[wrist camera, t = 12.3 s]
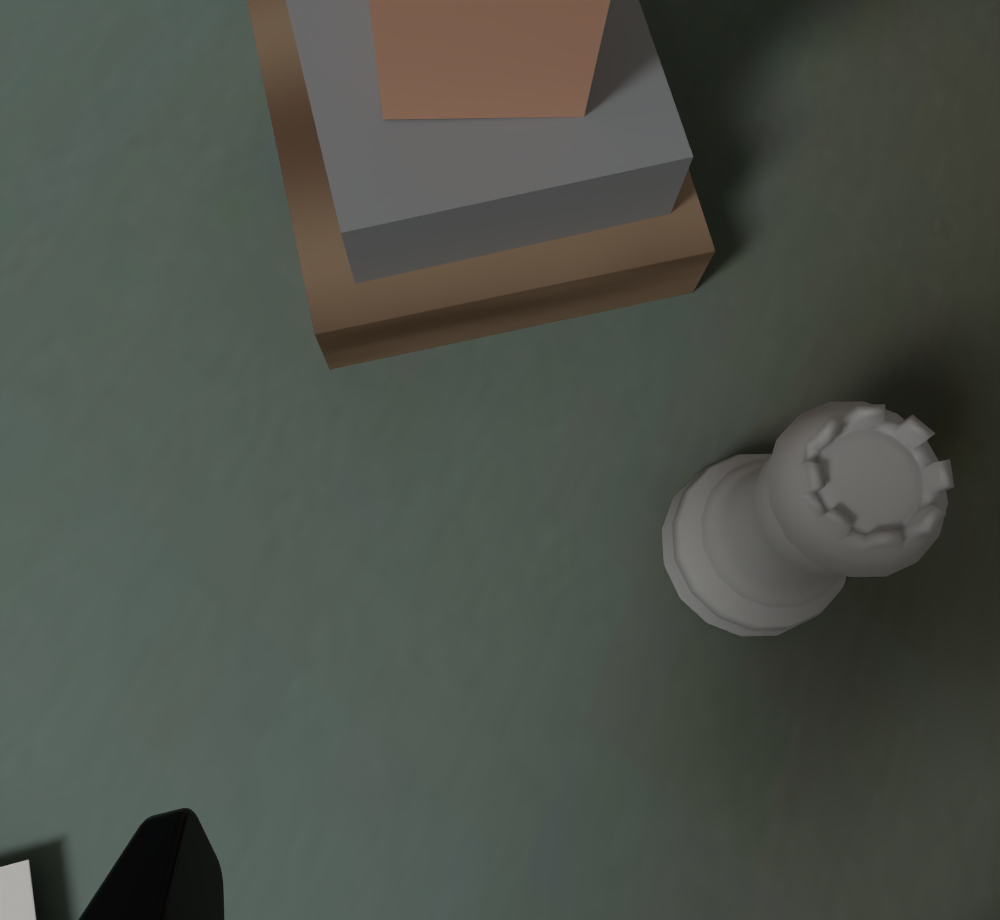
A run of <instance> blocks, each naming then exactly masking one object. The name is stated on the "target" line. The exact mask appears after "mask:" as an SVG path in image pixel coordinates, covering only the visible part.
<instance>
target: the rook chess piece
mask: <svg viewBox="0 0 1000 920" xmlns="http://www.w3.org/2000/svg"><path fill="white" fill-rule="evenodd" d="M934 434H935V433H934V432H933V431H932V430H931V429H929V428H928V427H927V426H926V425H925V424H923V423H922V422H921V421H920V420H919V419H917V418H916V417H915V416H914V415H911V416H909V417H908V418H906V419H905V420H904V419H903V418H902V417H901V416H900V415H898V414H897V413H894V412H892V411H889V410H886V409H885V404H873V405H872V404H870V403H867V402H864V401H849V402H828V403H825V404H823V405H821V406H818V407H816V408H814V409H811V410H809V411H807V412H804V413H802V414H800V415H798V416H797V417H796V419H795V420H794V421H793V422H792V423H791V424H790V425H789V426H788V427H787V428H786V430H785V431H784V432H783V433H782V434H781V435H780V436H779V437H778V438H777V440H776V443H775V446H774V449H773V452H772V454H736V455H734V456H732V457H729V458H727V459H725V460H722V461H720V462H718V463H715V464H713V465H711V466H709V467H706V468H705V469H704V470H703V471H701V472H699V473H697V474H695V475H694V476H693V477H692V478H691V479H690V480H689V481H688V483H687V484H686V485H685V486H684V487H683V488H682V489H681V490H680V491H679V492H678V493H677V494H676V495H675V497H674V498H673V499H672V502H671V505H670V508H669V511H668V514H667V517H666V519H665V522H664V525H663V528H662V541H663V556H664V566H665V568H666V570H667V572H668V574H669V576H670V578H671V581H672V583H673V585H674V587H675V589H676V591H677V593H678V595H679V597H680V598H681V599H682V600H683V601H684V602H685V603H686V604H687V605H688V606H689V607H690V608H691V609H692V610H693V611H695V612H696V613H697V614H698V615H699V616H700V617H701V618H702V619H703V620H704V621H705V622H706V623H708V624H711V625H713V626H716V627H718V628H721V629H724V630H726V631H729V632H731V633H734V634H736V635H739V636H777V635H779V634H781V633H784V632H786V631H788V630H790V629H792V628H794V627H796V626H799V625H801V624H803V623H805V622H807V621H809V620H811V619H813V618H815V617H817V616H819V615H820V614H821V613H822V612H823V611H824V610H825V608H826V607H827V606H828V605H829V604H830V603H831V601H832V600H833V599H834V598H835V597H836V595H837V594H838V593H839V592H840V591H841V590H842V588H843V586H844V584H845V580H846V577H847V576H848V577H886V576H889V575H891V574H893V573H895V572H897V571H899V570H902V569H904V568H906V567H908V566H910V565H912V564H914V563H917V562H918V561H919V560H920V559H921V557H922V556H923V555H924V554H925V553H926V551H927V550H928V549H929V548H930V547H931V545H932V544H933V543H934V542H935V541H936V539H937V538H938V537H939V535H940V532H941V528H942V524H943V520H944V517H945V516H946V515H947V514H946V509H947V505H948V499H947V492H946V491H947V490H949V489H952V488H954V482H953V475H952V469H951V462H950V459H948V460H944V461H938V459H937V457H936V455H935V454H934V452H933V450H932V448H931V447H930V445H929V443H928V441H927V439H929V438H930V437H931V436H933V435H934Z"/></svg>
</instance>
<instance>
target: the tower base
mask: <svg viewBox="0 0 1000 920" xmlns="http://www.w3.org/2000/svg"><path fill="white" fill-rule="evenodd" d="M247 2H248V7H249V12H250V17H251V22H252V27H253V32H254V37H255V42H256V47H257V52H258V57H259V62H260V66H261V71H262V76H263V81H264V86H265V91H266V96H267V101H268V106H269V111H270V116H271V121H272V126H273V131H274V136H275V140H276V145H277V150H278V155H279V160H280V165H281V170H282V175H283V180H284V185H285V190H286V195H287V200H288V205H289V210H290V215H291V219H292V224H293V229H294V234H295V239H296V244H297V249H298V254H299V259H300V264H301V269H302V274H303V279H304V284H305V289H306V293H307V298H308V303H309V308H310V313H311V318H312V323H313V328H314V333H315V336H316V338H317V341H318V343H319V345H320V348H321V350H322V352H323V355H324V357H325V359H326V362H327V364H328V366H329V369H334V368H339V367H344V366H348V365H353V364H358V363H363V362H367V361H372V360H377V359H381V358H386V357H391V356H396V355H400V354H405V353H410V352H414V351H419V350H424V349H429V348H433V347H438V346H443V345H447V344H452V343H457V342H461V341H466V340H471V339H476V338H480V337H485V336H490V335H494V334H499V333H504V332H509V331H513V330H518V329H523V328H527V327H532V326H537V325H542V324H546V323H551V322H556V321H560V320H565V319H570V318H574V317H579V316H584V315H589V314H593V313H598V312H603V311H607V310H612V309H617V308H622V307H626V306H631V305H636V304H640V303H645V302H650V301H655V300H659V299H664V298H669V297H673V296H678V295H683V294H687V293H692V292H693V291H694V290H695V288H696V286H697V284H698V282H699V280H700V279H701V277H702V275H703V273H704V271H705V269H706V268H707V266H708V264H709V262H710V260H711V258H712V256H713V255H714V253H715V248H714V245H713V242H712V239H711V236H710V233H709V230H708V227H707V224H706V221H705V218H704V214H703V211H702V208H701V205H700V202H699V199H698V196H697V193H696V190H695V187H694V184H693V181H692V177H691V174H690V171H689V169H688V171H687V174H686V176H685V179H684V181H683V184H682V186H681V189H680V191H679V193H678V196H677V198H676V201H675V203H674V206H673V208H672V211H671V213H670V214H668V215H663V216H659V217H654V218H650V219H645V220H641V221H636V222H632V223H627V224H623V225H618V226H614V227H609V228H605V229H600V230H596V231H591V232H587V233H582V234H577V235H573V236H568V237H564V238H559V239H555V240H550V241H546V242H541V243H537V244H532V245H528V246H523V247H519V248H514V249H510V250H505V251H501V252H496V253H492V254H487V255H483V256H478V257H474V258H469V259H465V260H460V261H456V262H451V263H447V264H442V265H438V266H433V267H428V268H424V269H419V270H415V271H410V272H406V273H401V274H397V275H392V276H388V277H383V278H379V279H374V280H370V281H365V282H361V283H356V284H355V281H354V278H353V274H352V271H351V267H350V264H349V260H348V257H347V253H346V249H345V246H344V242H343V239H342V235H341V231H340V227H339V223H338V219H337V214H336V210H335V206H334V202H333V198H332V193H331V189H330V185H329V181H328V177H327V172H326V168H325V164H324V160H323V155H322V151H321V147H320V143H319V139H318V134H317V130H316V126H315V122H314V118H313V113H312V109H311V105H310V101H309V96H308V92H307V88H306V84H305V80H304V75H303V71H302V67H301V63H300V59H299V54H298V50H297V46H296V42H295V38H294V33H293V29H292V25H291V21H290V16H289V12H288V8H287V4H286V0H247Z"/></svg>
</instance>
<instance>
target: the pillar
mask: <svg viewBox="0 0 1000 920" xmlns="http://www.w3.org/2000/svg"><path fill="white" fill-rule="evenodd" d="M609 4H610V0H369V8H370V17H371V25H372V33H373V41H374V50H375V58H376V66H377V74H378V83H379V91H380V99H381V108H382V116H383V120H388V119H464V118H540V117H584V115H585V110H586V106H587V101H588V97H589V93H590V88H591V84H592V79H593V75H594V70H595V66H596V62H597V57H598V53H599V48H600V44H601V39H602V35H603V31H604V26H605V22H606V17H607V13H608V8H609Z"/></svg>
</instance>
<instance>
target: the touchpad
mask: <svg viewBox="0 0 1000 920" xmlns="http://www.w3.org/2000/svg"><path fill="white" fill-rule="evenodd" d="M0 920H36V912H35V903H34V895H33V887H32V879H31V871H30V863H29V859H28V860H25V861H21V862H17V863H14V864H10V865H6V866H2V867H0Z"/></svg>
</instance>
